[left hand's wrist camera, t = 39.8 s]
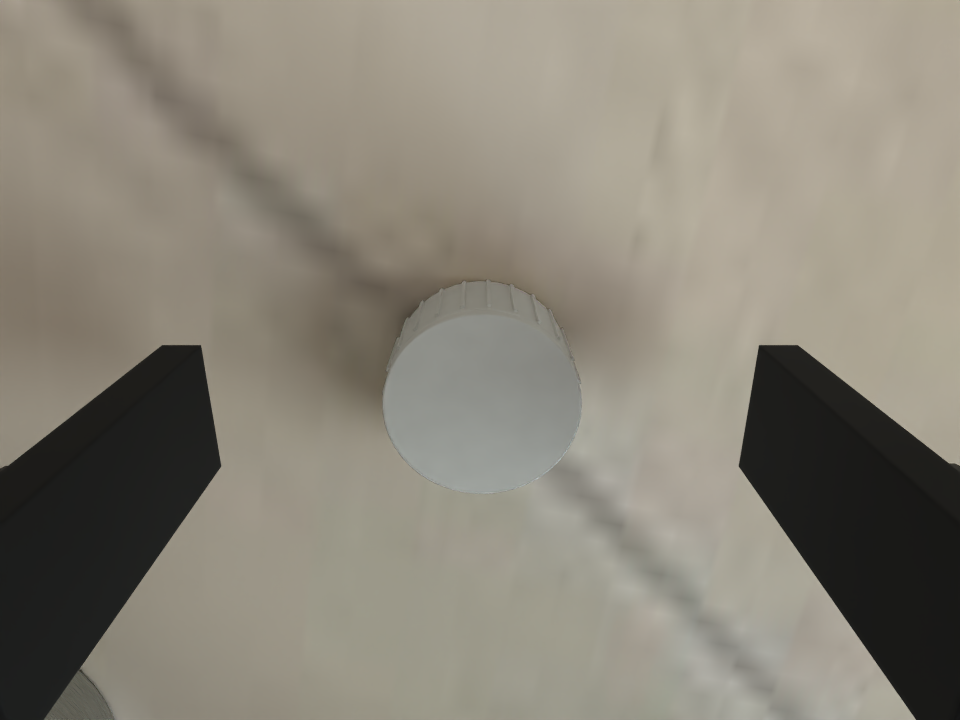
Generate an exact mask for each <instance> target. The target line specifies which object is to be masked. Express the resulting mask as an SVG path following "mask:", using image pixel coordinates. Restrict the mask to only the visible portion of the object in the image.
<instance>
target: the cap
mask: <svg viewBox="0 0 960 720" xmlns="http://www.w3.org/2000/svg"><path fill="white" fill-rule="evenodd" d="M386 372H388V374H387V377H386V381H385V384H384V388H383V391H382V395H383V399H382V408H383V417H384V422H385V426H386V429H387V432H388V435H389V437H390V439H391V441H392V443H393V445H394V447H395V448H396V450H397V451H398V453H399V454H400V455H401V457H402V458H403V459H404V460H405V461H406V462H407V463H408V465H409V466H410V467H412V468H413V469H414V470H415V471H416V472H418V473H419V474H420V475H422V476H423V477H425V478H426V479H428V480H430V481H432V482H434V483H436V484H438V485H440V486H443V487H446V488H448V489H451V490H455V491H460V492H465V493H474V494H490V493H499V492H504V491H508V490H513V489H515V488H518V487H521V486H524V485H526V484H528V483H530V482H532V481H534V480H536V479H537V478H539V477H540V476H542V475H544V474H545V473H546V472H547V471H549V470H550V469H551V468H552V467H553V466H554V465H555V464H556V463H557V462H558V461H559V460H560V459H561V458H562V457H563V455H564V454H565V453H566V451H567V450H568V448H569V447H570V445H571V443H572V441H573V439H574V437H575V435H576V432H577V429H578V427H579V422H580V417H581V408H582V399H581V389H580V385H579V384H581V380H580V377H579V374H578V372H577V369H576V366H575V363H574V357H573V355H572V352H571V349H570V346H569V343H568V341H567V338H566V335H565V332H564V330H563V328H560V327H559V326H558V324H557V322H556V320H555V319H554V316H553V313H552V311H551V310H550V309H549V310H547V309H546V308H545V307H544V306H543V305H542V304H541V303H540V302H539V301H538V300H536V298H535V295H533V294H531V295H529V294H527V293H526V292H524V291H522V290H520V289H518V288H515V287H514V285H513V284H510V285H506V284H502V283H497V282H490V280H488V279H487V280H486V281H474V282H466V281H462V283H461V284H458V285H454V286H451V287H449V288H446V289H443V288H441V289H440V290H439V292H438V293H436V294H434V295H433V296H431V297H430V298H429V299H427V300H426V301H425V302H424V301H423V300H422V301H421V302H420V305H419V307H418V308H417V309H416V310H415V312H414V313H413V314H412V315H411V317H410V318H408V317H407V318H406V320H405V323H404V326H403V329H402V332H401V335H400V338H399V337H397V339H396V342H395V345H394V347H393V350H392V353H391V356H390V359H389V362H388V365H387V368H386Z"/></svg>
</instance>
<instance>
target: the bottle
mask: <svg viewBox="0 0 960 720" xmlns="http://www.w3.org/2000/svg"><path fill="white" fill-rule="evenodd" d="M44 720H114V719H113V716H112V713H111V711H110V709H109V707H108V705H107V704H106V702H105V700H104V698H103V697H102V696H101V694H100V693H99V691H98V690H97V689H96V687H95V686H94V685H93V684H92V683H91V682H90V681H89V680H88V678H87V677H86V676H85V675H84V674H83V673H82V672H80V671H79V670H78V672H77V673H76V674H75V676H74V677H73V679H72V680H71V682H70V683H69V684H68V686H67V687H66V689H65V690H64V692H63V693H62V694H61V696H60V697H59V699H58V700H57V702H56V703H55V704H54V706H53V707H52V709H51V710H50V712H49V713H48V714H47V716H46V717H45V719H44Z"/></svg>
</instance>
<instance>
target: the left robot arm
mask: <svg viewBox="0 0 960 720" xmlns="http://www.w3.org/2000/svg"><path fill="white" fill-rule="evenodd" d="M220 467H221V462H220V456H219V450H218V444H217V438H216V432H215V426H214V420H213V414H212V408H211V403H210V397H209V391H208V385H207V379H206V373H205V367H204V361H203V355H202V349H201V345H162V346H161V347H159V348H158V349H157V350H156V351H154V352H153V353H152V354H150V355H149V356H148V357H147V358H145V359H144V360H143V361H142V362H140V363H139V364H138V365H136V366H135V367H134V368H133V369H131V370H130V371H129V372H127V373H126V374H125V375H124V376H122V377H121V378H120V379H119V380H117V381H116V382H115V383H113V384H112V385H111V386H110V387H108V388H107V389H106V390H104V391H103V392H102V393H101V394H99V395H98V396H97V397H96V398H94V399H93V400H92V401H90V402H89V403H88V404H87V405H85V406H84V407H83V408H82V409H80V410H79V411H78V412H76V413H75V414H74V415H73V416H71V417H70V418H69V419H67V420H66V421H65V422H64V423H62V424H61V425H60V426H59V427H57V428H56V429H55V430H53V431H52V432H51V433H50V434H48V435H47V436H46V437H44V438H43V439H42V440H41V441H39V442H38V443H37V444H36V445H34V446H33V447H32V448H30V449H29V450H28V451H27V452H25V453H24V454H23V455H21V456H20V457H19V458H18V459H16V460H15V461H14V462H13V463H11V464H10V465H9V466H5V467H3V468H1V469H0V720H44V719H45V717H46V716H47V714H48V713H49V712H50V710H51V709H52V707H53V706H54V704H55V703H56V702H57V700H58V699H59V697H60V696H61V694H62V693H63V692H64V690H65V689H66V687H67V686H68V684H69V683H70V682H71V680H72V679H73V677H74V676H75V674H76V673H77V672H78V670H79V669H80V667H81V666H82V664H83V663H84V662H85V660H86V659H87V657H88V656H89V654H90V653H91V652H92V650H93V649H94V647H95V646H96V644H97V643H98V642H99V640H100V639H101V637H102V636H103V634H104V633H105V632H106V630H107V629H108V627H109V626H110V624H111V623H112V622H113V620H114V619H115V617H116V616H117V614H118V613H119V612H120V610H121V609H122V607H123V606H124V604H125V603H126V602H127V600H128V599H129V597H130V596H131V594H132V593H133V592H134V590H135V589H136V587H137V586H138V584H139V583H140V582H141V580H142V579H143V577H144V576H145V574H146V573H147V572H148V570H149V569H150V567H151V566H152V564H153V563H154V562H155V560H156V559H157V557H158V556H159V554H160V553H161V552H162V550H163V549H164V547H165V546H166V544H167V543H168V542H169V540H170V539H171V537H172V536H173V534H174V533H175V532H176V530H177V529H178V527H179V526H180V524H181V523H182V522H183V520H184V519H185V517H186V516H187V514H188V513H189V512H190V510H191V509H192V507H193V506H194V504H195V503H196V502H197V500H198V499H199V497H200V496H201V494H202V493H203V492H204V490H205V489H206V487H207V486H208V484H209V483H210V482H211V480H212V479H213V477H214V476H215V474H216V473H217V472H218V470H219V469H220ZM739 467H740V469H741V470H742V472H743V473H744V474H745V476H746V477H747V479H748V480H749V482H750V483H751V484H752V486H753V487H754V489H755V490H756V492H757V493H758V494H759V496H760V497H761V499H762V500H763V502H764V503H765V504H766V506H767V507H768V509H769V510H770V512H771V513H772V514H773V516H774V517H775V519H776V520H777V522H778V523H779V524H780V526H781V527H782V529H783V530H784V532H785V533H786V534H787V536H788V537H789V539H790V540H791V542H792V543H793V544H794V546H795V547H796V549H797V550H798V552H799V553H800V554H801V556H802V557H803V559H804V560H805V562H806V563H807V564H808V566H809V567H810V569H811V570H812V572H813V573H814V574H815V576H816V577H817V579H818V580H819V582H820V583H821V584H822V586H823V587H824V589H825V590H826V592H827V593H828V594H829V596H830V597H831V599H832V600H833V602H834V603H835V604H836V606H837V607H838V609H839V610H840V612H841V613H842V614H843V616H844V617H845V619H846V620H847V622H848V623H849V624H850V626H851V627H852V629H853V630H854V632H855V633H856V634H857V636H858V637H859V639H860V640H861V642H862V643H863V644H864V646H865V647H866V649H867V650H868V652H869V653H870V654H871V656H872V657H873V659H874V660H875V662H876V663H877V664H878V666H879V667H880V669H881V670H882V672H883V673H884V674H885V676H886V677H887V679H888V680H889V682H890V683H891V684H892V686H893V687H894V689H895V690H896V692H897V693H898V694H899V696H900V697H901V699H902V700H903V702H904V703H905V704H906V706H907V707H908V709H909V710H910V712H911V713H912V714H913V716H914V717H915V719H916V720H960V466H959V465H957V464H949V463H947V462H946V461H945V460H944V459H942V458H941V457H940V456H939V455H937V454H936V453H935V452H933V451H932V450H931V449H930V448H928V447H927V446H926V445H924V444H923V443H922V442H921V441H919V440H918V439H917V438H916V437H914V436H913V435H912V434H910V433H909V432H908V431H907V430H905V429H904V428H903V427H901V426H900V425H899V424H898V423H896V422H895V421H894V420H893V419H891V418H890V417H889V416H887V415H886V414H885V413H884V412H882V411H881V410H880V409H879V408H877V407H876V406H875V405H873V404H872V403H871V402H870V401H868V400H867V399H866V398H864V397H863V396H862V395H861V394H859V393H858V392H857V391H856V390H854V389H853V388H852V387H850V386H849V385H848V384H847V383H845V382H844V381H843V380H841V379H840V378H839V377H838V376H836V375H835V374H834V373H833V372H831V371H830V370H829V369H827V368H826V367H825V366H824V365H822V364H821V363H820V362H818V361H817V360H816V359H815V358H813V357H812V356H811V355H810V354H808V353H807V352H806V351H804V350H803V349H802V348H801V347H799V346H798V345H759V349H758V355H757V361H756V367H755V373H754V379H753V385H752V391H751V397H750V403H749V409H748V415H747V420H746V426H745V432H744V438H743V444H742V450H741V456H740V462H739Z"/></svg>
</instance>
